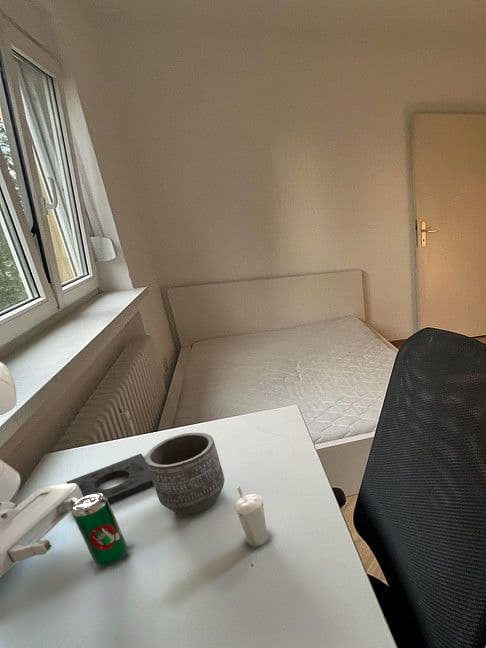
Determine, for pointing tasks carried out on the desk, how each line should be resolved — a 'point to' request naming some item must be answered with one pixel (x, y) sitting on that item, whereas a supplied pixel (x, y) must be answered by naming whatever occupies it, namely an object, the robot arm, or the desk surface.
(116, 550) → the soda can
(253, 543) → the milkshake
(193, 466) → the planter
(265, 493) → the desk surface
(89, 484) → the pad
